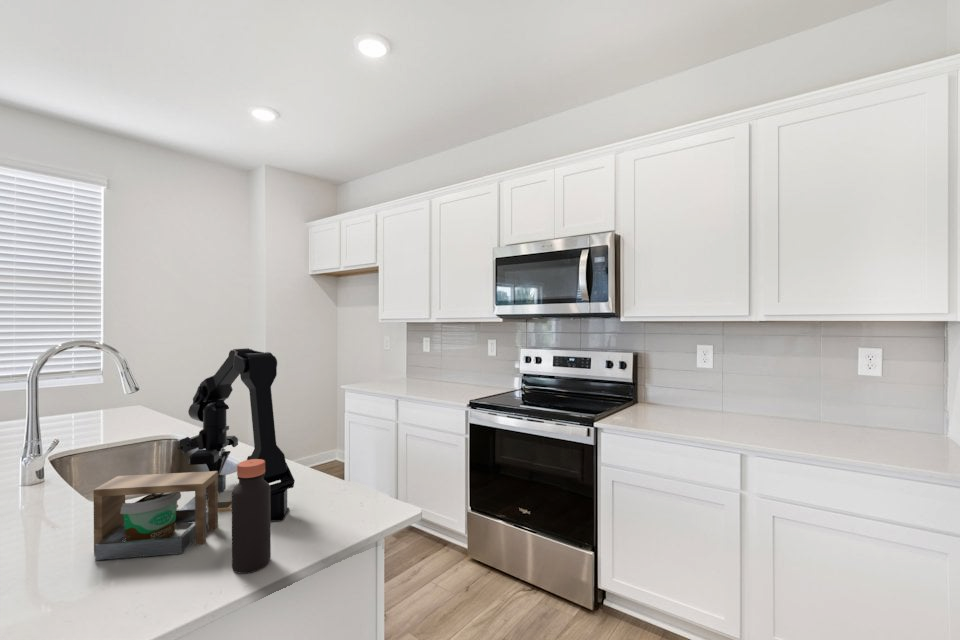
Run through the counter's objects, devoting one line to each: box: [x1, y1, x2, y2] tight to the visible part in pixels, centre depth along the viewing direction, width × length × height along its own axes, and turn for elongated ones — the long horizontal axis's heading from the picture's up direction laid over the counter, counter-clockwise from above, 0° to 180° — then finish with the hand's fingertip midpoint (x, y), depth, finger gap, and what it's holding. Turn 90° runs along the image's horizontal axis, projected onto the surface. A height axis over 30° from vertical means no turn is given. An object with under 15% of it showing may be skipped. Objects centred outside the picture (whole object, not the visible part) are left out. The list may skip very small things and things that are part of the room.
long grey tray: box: [94, 474, 227, 561], centre depth 109 cm, size 16×36×4 cm, turn 10°
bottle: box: [231, 459, 272, 574], centre depth 89 cm, size 7×7×20 cm
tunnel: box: [93, 470, 219, 554], centre depth 99 cm, size 21×8×13 cm, turn 100°
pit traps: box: [177, 500, 232, 512], centre depth 115 cm, size 19×5×1 cm, turn 100°
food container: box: [120, 492, 182, 541], centre depth 99 cm, size 12×6×10 cm, turn 168°
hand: (215, 479), depth 128 cm, fingers closed
